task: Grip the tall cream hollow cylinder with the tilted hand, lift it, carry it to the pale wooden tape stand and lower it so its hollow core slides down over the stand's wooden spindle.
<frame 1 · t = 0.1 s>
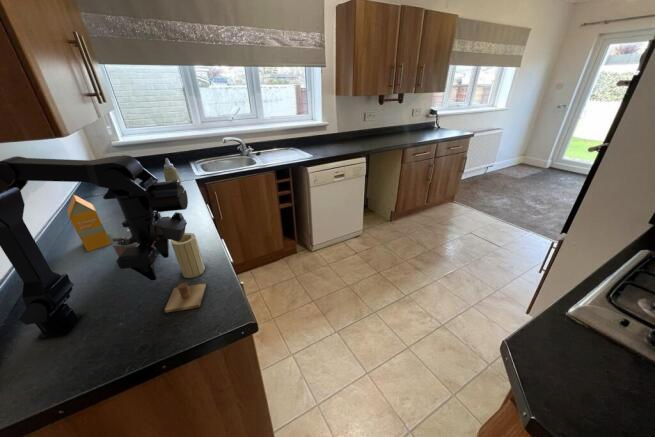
hand: (160, 267, 68), 15 cm above the worktop, tool pointing down, fingers open, 9 cm apart
soda can: (157, 249, 102), on the worktop
squeeze bottle: (175, 189, 158), on the worktop
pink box: (132, 261, 96), on the worktop
cream hollow cylinder: (193, 271, 90), on the worktop
orange juice: (98, 243, 107), on the worktop
tape stand: (186, 298, 79), on the worktop
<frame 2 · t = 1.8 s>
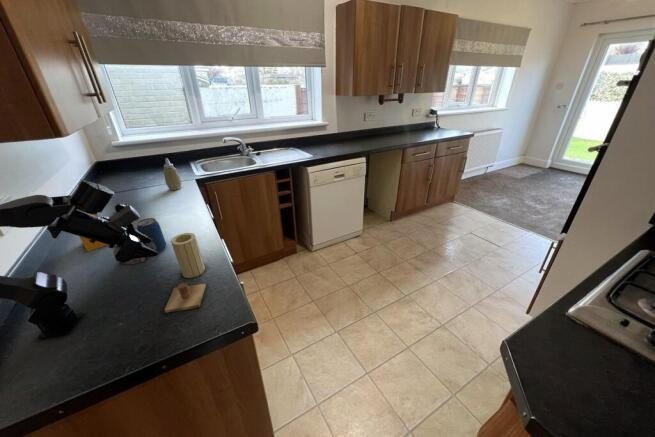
hand: (153, 247, 79), 13 cm above the worktop, tool tilted 45°, fingers open, 9 cm apart
nothing on the worktop moved.
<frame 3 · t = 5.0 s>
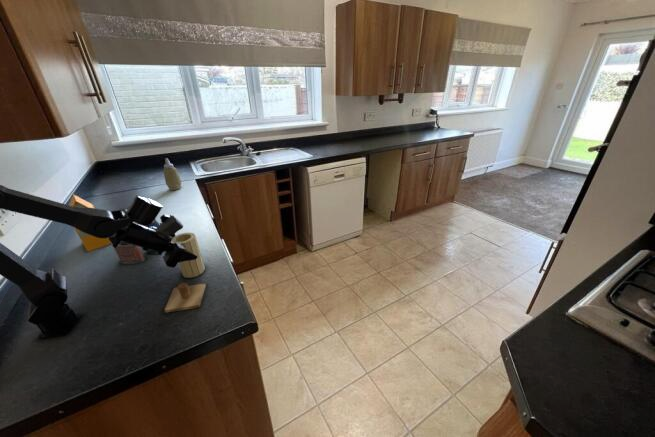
hand: (193, 253, 88), 7 cm above the worktop, tool tilted 45°, fingers closed on cream hollow cylinder, 7 cm apart
cream hollow cylinder: (193, 271, 90), on the worktop, touching gripper
everything else where it was.
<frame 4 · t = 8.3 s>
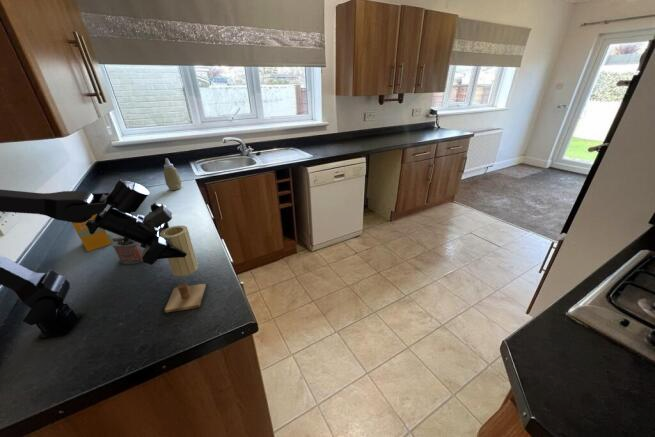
hand: (185, 249, 78), 13 cm above the worktop, tool tilted 45°, fingers closed on cream hollow cylinder, 7 cm apart
cream hollow cylinder: (185, 269, 80), point 7 cm above the worktop, touching gripper
everything else where it was.
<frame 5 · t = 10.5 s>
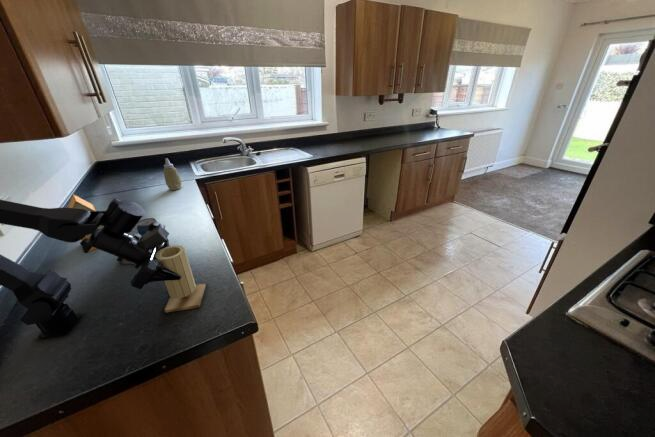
hand: (182, 270, 74), 10 cm above the worktop, tool tilted 45°, fingers closed on cream hollow cylinder, 7 cm apart
cream hollow cylinder: (182, 290, 77), point 3 cm above the worktop, touching gripper
everything else where it was.
when the fingers open (8 cm above the worktop, at t = 12.0 s): cream hollow cylinder stays where it is, resting on tape stand.
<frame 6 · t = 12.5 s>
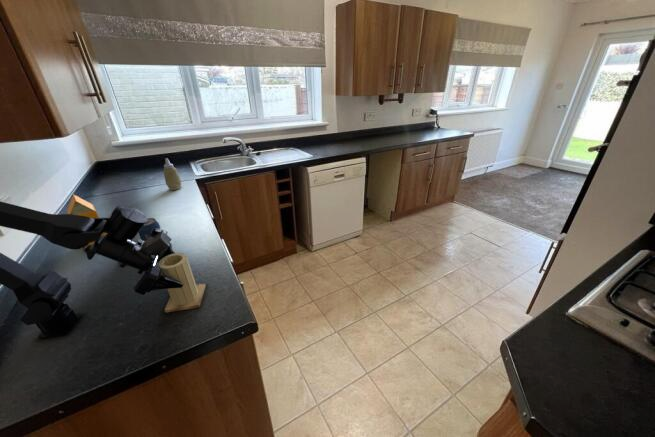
hand: (184, 275, 75), 8 cm above the worktop, tool tilted 45°, fingers open, 9 cm apart
cream hollow cylinder: (185, 296, 78), point 1 cm above the worktop, touching tape stand
everything else where it was.
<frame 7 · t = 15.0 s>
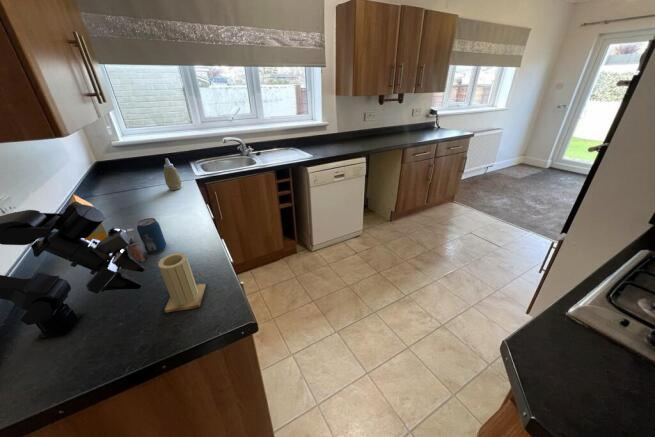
hand: (142, 278, 72), 10 cm above the worktop, tool tilted 40°, fingers open, 9 cm apart
nothing on the worktop moved.
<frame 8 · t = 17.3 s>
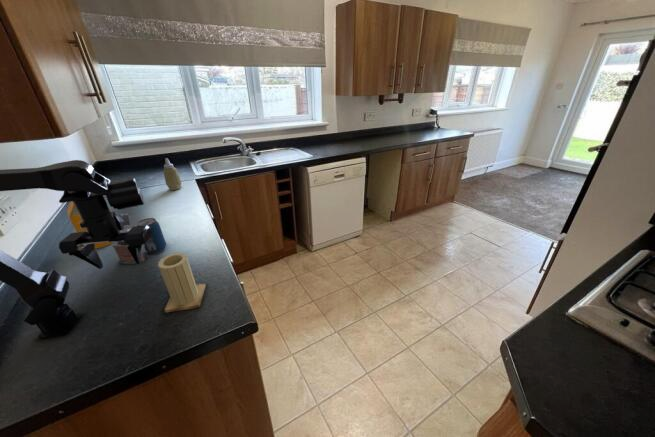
hand: (120, 265, 72), 13 cm above the worktop, tool pointing down, fingers open, 9 cm apart
nothing on the worktop moved.
at the end: cream hollow cylinder 0.2 cm off-centre on the tape stand, point 1.0 cm above the tape stand's base; cream hollow cylinder tilted 0°; the gripper is holding nothing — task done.
